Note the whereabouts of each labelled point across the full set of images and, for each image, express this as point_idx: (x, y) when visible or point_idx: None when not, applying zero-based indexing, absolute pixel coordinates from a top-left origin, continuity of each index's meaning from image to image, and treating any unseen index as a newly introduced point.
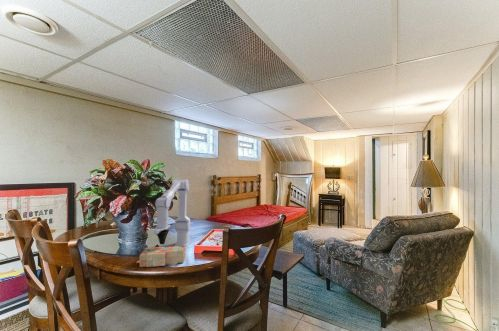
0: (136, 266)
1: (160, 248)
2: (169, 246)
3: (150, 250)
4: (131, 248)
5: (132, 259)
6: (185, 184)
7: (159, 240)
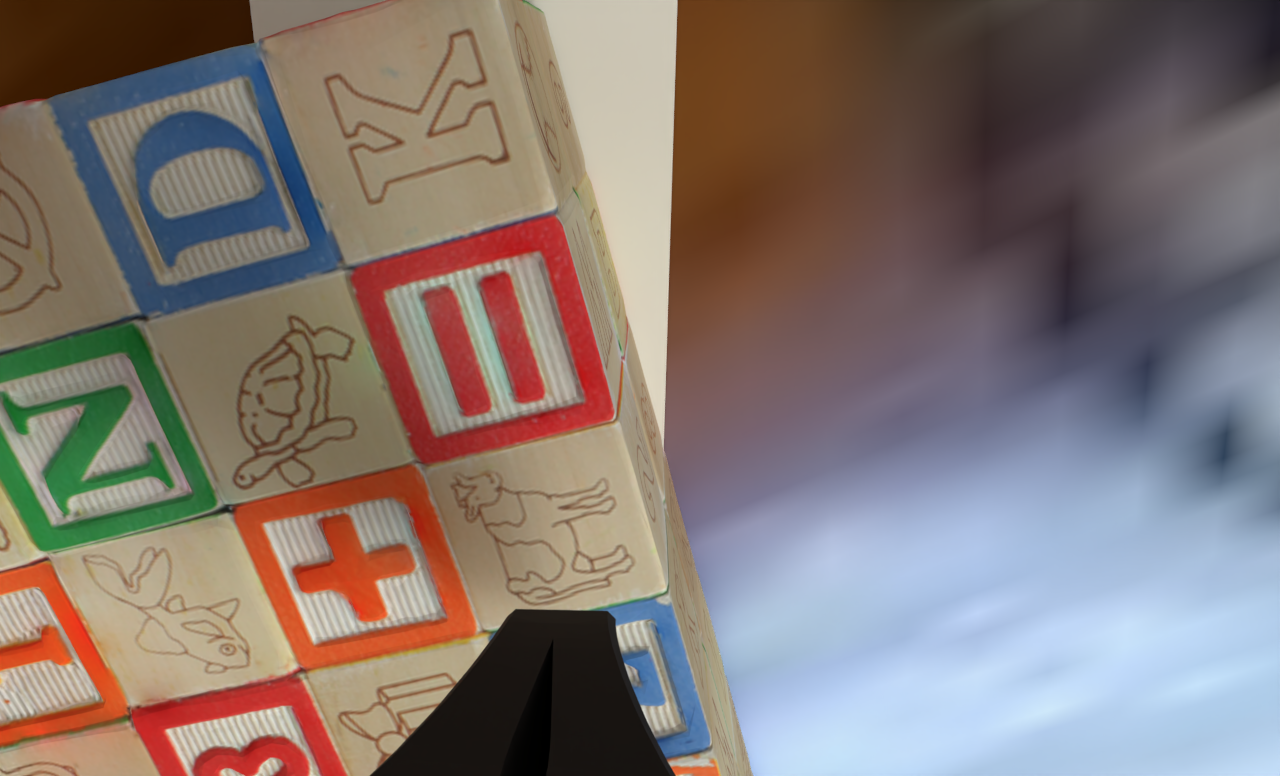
0: (26, 43)
1: (468, 583)
2: (714, 762)
3: (167, 362)
4: None
5: None
6: None
7: (457, 705)
